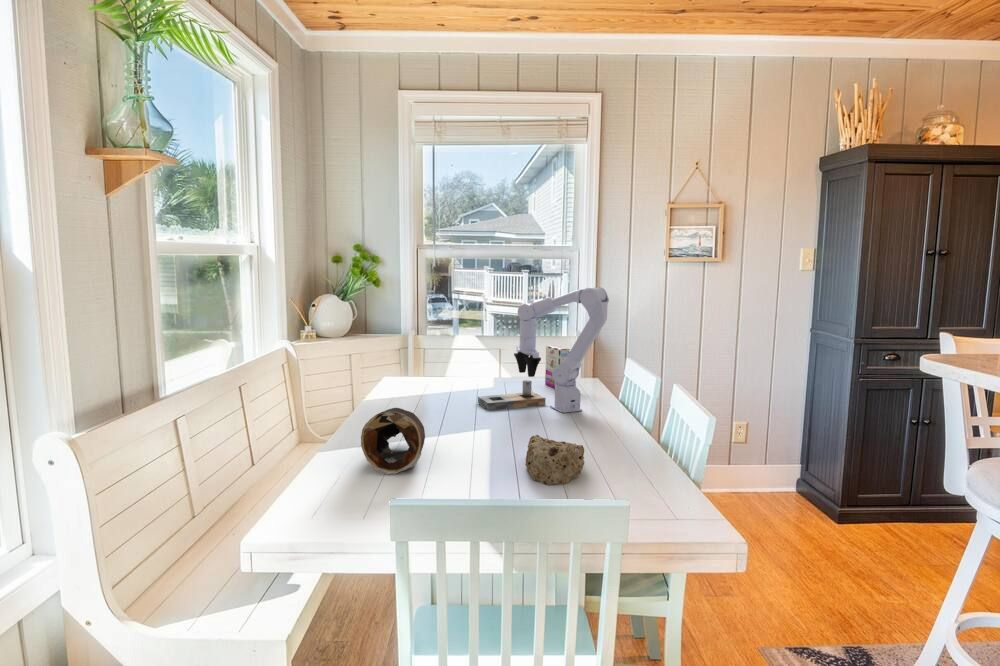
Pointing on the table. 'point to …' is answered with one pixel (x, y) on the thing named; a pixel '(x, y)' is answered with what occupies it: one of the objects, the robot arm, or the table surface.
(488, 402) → the dock board
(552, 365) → the candy bar box
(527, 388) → the pin
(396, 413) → the hollow brown log
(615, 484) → the table surface
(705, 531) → the table surface
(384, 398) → the table surface
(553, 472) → the rock
